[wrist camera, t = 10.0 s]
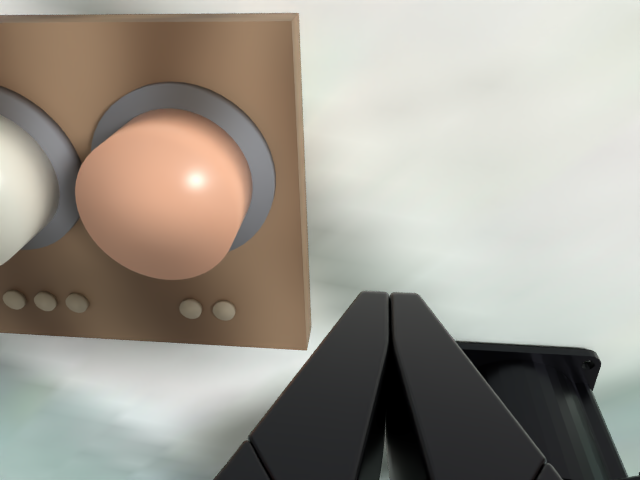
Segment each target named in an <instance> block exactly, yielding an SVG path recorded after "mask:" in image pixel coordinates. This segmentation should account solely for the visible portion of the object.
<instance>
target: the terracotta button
mask: <svg viewBox="0 0 640 480" xmlns="http://www.w3.org/2000/svg"><path fill="white" fill-rule="evenodd" d="M252 192H253V184H252V176H251V171H250V168H249V165H248V162H247V160H246V158H245V156H244V154H243V152H242V151H241V149H240V147H239V146H238V145H237V143H236V142H235V141H234V139H233V138H232V137H231V136H230V135H229V134H228V133H227V132H226V131H225V130H223V129H222V128H221V127H220V126H218V125H217V124H215V123H214V122H212V121H211V120H209V119H207V118H205V117H203V116H201V115H199V114H196V113H193V112H190V111H186V110H181V109H171V108H166V109H156V110H151V111H148V112H145V113H142V114H140V115H138V116H136V117H134V118H133V119H132V120H130V121H129V122H128V123H126V124H125V125H124V126H123V127H121V128H120V129H119V130H118V131H116V132H115V133H114V134H113V135H111V136H110V137H109V138H108V139H107V140H105V141H104V142H103V143H102V144H100V145H99V146H98V147H97V148H95V149H94V150H93V151H92V152H91V153H90V154H89V155H88V156H87V157H86V159H85V160H84V162H83V163H82V165H81V167H80V170H79V172H78V175H77V179H76V186H75V197H76V204H77V209H78V212H79V215H80V218H81V220H82V223H83V225H84V227H85V229H86V230H87V232H88V233H89V235H90V236H91V238H92V239H93V240H94V241H95V243H96V244H97V245H98V246H99V247H100V248H101V249H102V250H103V251H104V252H105V253H106V254H107V255H108V256H110V257H111V258H112V259H113V260H115V261H116V262H118V263H119V264H121V265H122V266H124V267H126V268H128V269H130V270H132V271H134V272H137V273H139V274H142V275H145V276H148V277H152V278H157V279H165V280H181V279H188V278H192V277H196V276H199V275H201V274H204V273H206V272H207V271H209V270H211V269H212V268H214V267H215V266H216V265H217V264H219V263H220V262H221V260H222V259H223V258H224V257H225V256H226V254H227V253H228V251H229V249H230V247H231V245H232V243H233V241H234V239H235V237H236V234H237V232H238V230H239V228H240V226H241V224H242V222H243V220H244V218H245V215H246V213H247V211H248V209H249V207H250V203H251V199H252Z"/></svg>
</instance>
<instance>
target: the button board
mask: <svg viewBox="0 0 640 480" xmlns="http://www.w3.org/2000/svg"><path fill="white" fill-rule="evenodd" d="M166 108H171V109H181V110H186V111H190V112H193V113H196V114H199V115H201V116H203V117H205V118H207V119H209V120H211V121H212V122H214V123H215V124H217V125H218V126H220V127H221V128H222V129H223V130H225V131H226V132H227V133H228V134H229V135H230V136H231V137H232V138H233V139H234V141H235V142H236V143H237V145H238V146H239V147H240V149H241V151H242V152H243V154H244V156H245V158H246V160H247V162H248V165H249V168H250V171H251V176H252V184H253V192H252V199H251V203H250V207H249V209H248V211H247V213H246V215H245V218H244V220H243V222H242V224H241V226H240V228H239V230H238V232H237V234H236V237H235V239H234V241H233V243H232V245H231V247H230V249H229V251H228V253H227V254H226V256H225V257H224V258H223V259H222V260H221V262H220V263H219V264H217V265H216V266H215V267H214V268H212V269H211V270H209V271H207V272H206V273H204V274H201V275H199V276H196V277H192V278H188V279H181V280H165V279H157V278H152V277H148V276H145V275H142V274H139V273H137V272H134V271H132V270H130V269H128V268H126V267H124V266H122V265H121V264H119V263H118V262H116V261H115V260H113V259H112V258H111V257H110V256H108V255H107V254H106V253H105V252H104V251H103V250H102V249H101V248H100V247H99V246H98V245H97V244H96V243H95V241H94V240H93V239H92V238H91V236H90V235H89V233H88V232H87V230H86V229H85V227H84V225H83V223H82V220H81V218H80V215H79V212H78V209H77V204H76V197H75V186H76V179H77V175H78V172H79V170H80V167H81V165H82V163H83V162H84V160H85V159H86V157H87V156H88V155H89V154H90V153H91V152H92V151H93V150H94V149H95V148H97V147H98V146H99V145H100V144H102V143H103V142H104V141H105V140H107V139H108V138H109V137H110V136H111V135H113V134H114V133H115V132H116V131H118V130H119V129H120V128H121V127H123V126H124V125H125V124H126V123H128V122H129V121H130V120H132V119H133V118H134V117H136V116H138V115H140V114H142V113H145V112H148V111H151V110H156V109H166ZM0 115H2V116H4V117H6V118H7V119H9V120H11V121H13V122H14V123H16V124H17V125H18V126H20V127H21V128H22V129H24V130H25V131H26V132H27V133H28V134H29V135H30V136H31V137H32V138H33V139H34V140H35V141H36V142H37V143H38V144H39V145H40V147H41V148H42V149H43V150H44V152H45V153H46V155H47V157H48V158H49V160H50V162H51V164H52V166H53V168H54V170H55V173H56V176H57V179H58V184H59V192H60V195H59V204H58V208H57V211H56V213H55V215H54V217H53V218H52V220H51V221H50V222H49V223H48V224H47V225H46V226H45V227H44V228H43V229H42V230H41V231H40V232H39V233H37V234H36V235H35V236H34V237H33V238H32V239H31V240H30V241H29V242H28V243H27V244H25V245H24V246H23V247H22V248H21V249H20V250H19V251H18V252H17V253H16V254H15V255H13V256H12V257H11V258H10V259H9V260H8V261H7V262H5V263H4V264H2V265H0V333H15V334H32V335H50V336H67V337H84V338H102V339H119V340H136V341H153V342H171V343H188V344H205V345H222V346H240V347H257V348H274V349H292V350H307V347H308V342H309V337H310V331H311V309H310V284H309V258H308V233H307V208H306V183H305V158H304V133H303V108H302V83H301V58H300V33H299V13H249V14H112V15H0Z"/></svg>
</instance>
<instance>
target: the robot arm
mask: <svg viewBox="0 0 640 480" xmlns="http://www.w3.org/2000/svg"><path fill="white" fill-rule="evenodd" d="M585 361H589V362H587V363H583V362H585ZM600 367H601V361H600V359H599V357H598V355H597V354H596V352H594V351H592V350H585V349H567V348H549V347H531V346H512V345H494V344H476V343H458V342H455V340H454V339H453V338H452V336H451V335H450V334H449V333H448V331H447V330H446V329H445V327H444V326H443V325H442V324H441V322H440V321H439V320H438V318H437V317H436V316H435V315H434V313H433V312H432V311H431V309H430V308H429V307H428V306H427V304H426V303H425V302H424V300H423V299H422V298H421V297H420V295H418V294H417V293H402V292H393V293H391V295H390V298H389V294H388V293H387V292H379V291H362V292H361V293H360V294H359V295H358V296H357V297H356V299H355V300H354V301H353V303H352V304H351V305H350V306H349V308H348V309H347V310H346V312H345V313H344V314H343V315H342V317H341V318H340V319H339V321H338V322H337V323H336V324H335V326H334V327H333V328H332V330H331V331H330V332H329V333H328V335H327V336H326V337H325V338H324V340H323V341H322V342H321V344H320V345H319V346H318V347H317V349H316V350H315V351H314V353H313V354H312V355H311V356H310V358H309V359H308V360H307V362H306V363H305V364H304V365H303V367H302V368H301V369H300V371H299V372H298V373H297V374H296V376H295V377H294V378H293V379H292V381H291V382H290V383H289V385H288V386H287V387H286V388H285V390H284V391H283V392H282V394H281V395H280V396H279V397H278V399H277V400H276V401H275V403H274V404H273V405H272V406H271V408H270V409H269V410H268V412H267V413H266V414H265V415H264V417H263V418H262V419H261V421H260V422H259V423H258V424H257V426H256V427H255V428H254V429H253V431H252V432H251V433H250V435H249V436H248V441H244V442H243V443H242V444H241V446H240V447H239V448H238V450H237V451H236V452H235V453H234V455H233V456H232V457H231V459H230V460H229V461H228V462H227V464H226V465H225V466H224V467H223V469H222V470H221V471H220V472H219V473H218V475H217V476H216V477H215V478H214V479H213V480H379V478H380V471H381V464H382V458H383V449H384V440H385V422H386V450H387V461H388V470H389V479H390V480H640V472H639V475H638V476H632V477H628V475H627V473H626V470H625V468H624V466H623V463H622V461H621V458H620V456H619V454H618V451H617V449H616V447H615V444H614V442H613V440H612V437H611V435H610V433H609V430H608V428H607V425H606V423H605V421H604V418H603V416H602V414H601V411H600V409H599V407H598V404H597V402H596V400H595V397H594V395H593V392H592V391H593V388H594V385H595V382H596V379H597V376H598V373H599V370H600Z"/></svg>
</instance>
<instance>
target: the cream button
mask: <svg viewBox="0 0 640 480" xmlns="http://www.w3.org/2000/svg"><path fill="white" fill-rule="evenodd" d="M59 195H60V192H59V184H58V179H57V176H56V173H55V170H54V168H53V166H52V164H51V162H50V160H49V158H48V157H47V155H46V153H45V152H44V150H43V149H42V148H41V147H40V145H39V144H38V143H37V142H36V141H35V140H34V139H33V138H32V137H31V136H30V135H29V134H28V133H27V132H26V131H25V130H24V129H22V128H21V127H20V126H18V125H17V124H16V123H14V122H13V121H11V120H9V119H7V118H6V117H4V116H2V115H0V265H2V264H4V263H5V262H7V261H8V260H9V259H10V258H11V257H12V256H13V255H15V254H16V253H17V252H18V251H19V250H20V249H21V248H22V247H23V246H24V245H25V244H27V243H28V242H29V241H30V240H31V239H32V238H33V237H34V236H35V235H36V234H37V233H39V232H40V231H41V230H42V229H43V228H44V227H45V226H46V225H47V224H48V223H49V222H50V221H51V220H52V218H53V217H54V215H55V213H56V211H57V208H58V204H59Z"/></svg>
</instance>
